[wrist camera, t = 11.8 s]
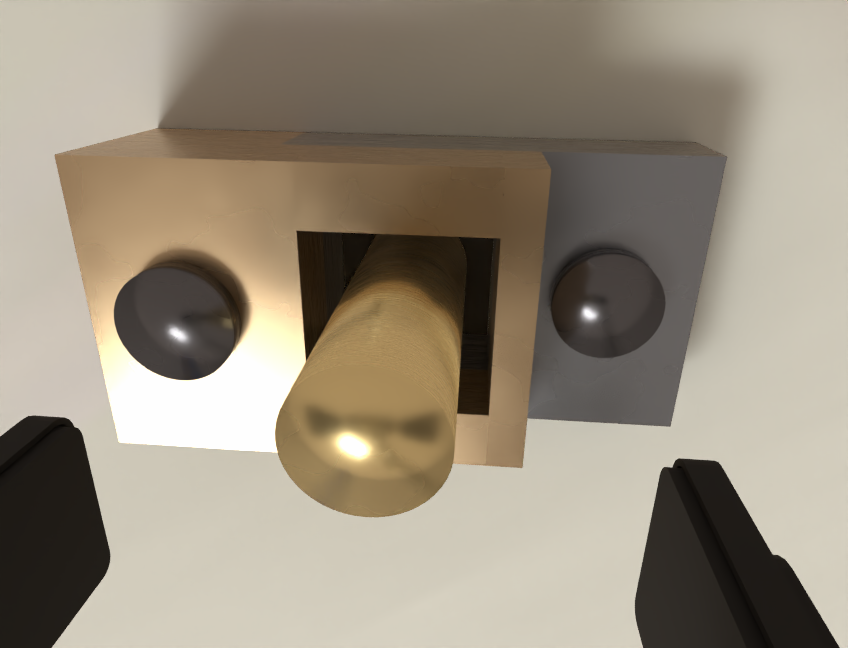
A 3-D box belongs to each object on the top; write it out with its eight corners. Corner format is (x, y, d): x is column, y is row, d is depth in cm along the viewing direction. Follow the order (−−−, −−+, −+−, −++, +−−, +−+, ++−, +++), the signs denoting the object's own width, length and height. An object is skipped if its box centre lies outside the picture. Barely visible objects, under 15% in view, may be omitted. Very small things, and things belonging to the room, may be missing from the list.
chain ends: (695, 142, 18) (781, 181, 13) (650, 385, 21) (703, 493, 16) (156, 128, 19) (37, 159, 14) (192, 360, 22) (107, 454, 17)
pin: (469, 217, 19) (458, 370, 10) (464, 311, 21) (451, 522, 12) (366, 213, 20) (266, 360, 10) (369, 307, 21) (282, 510, 12)
